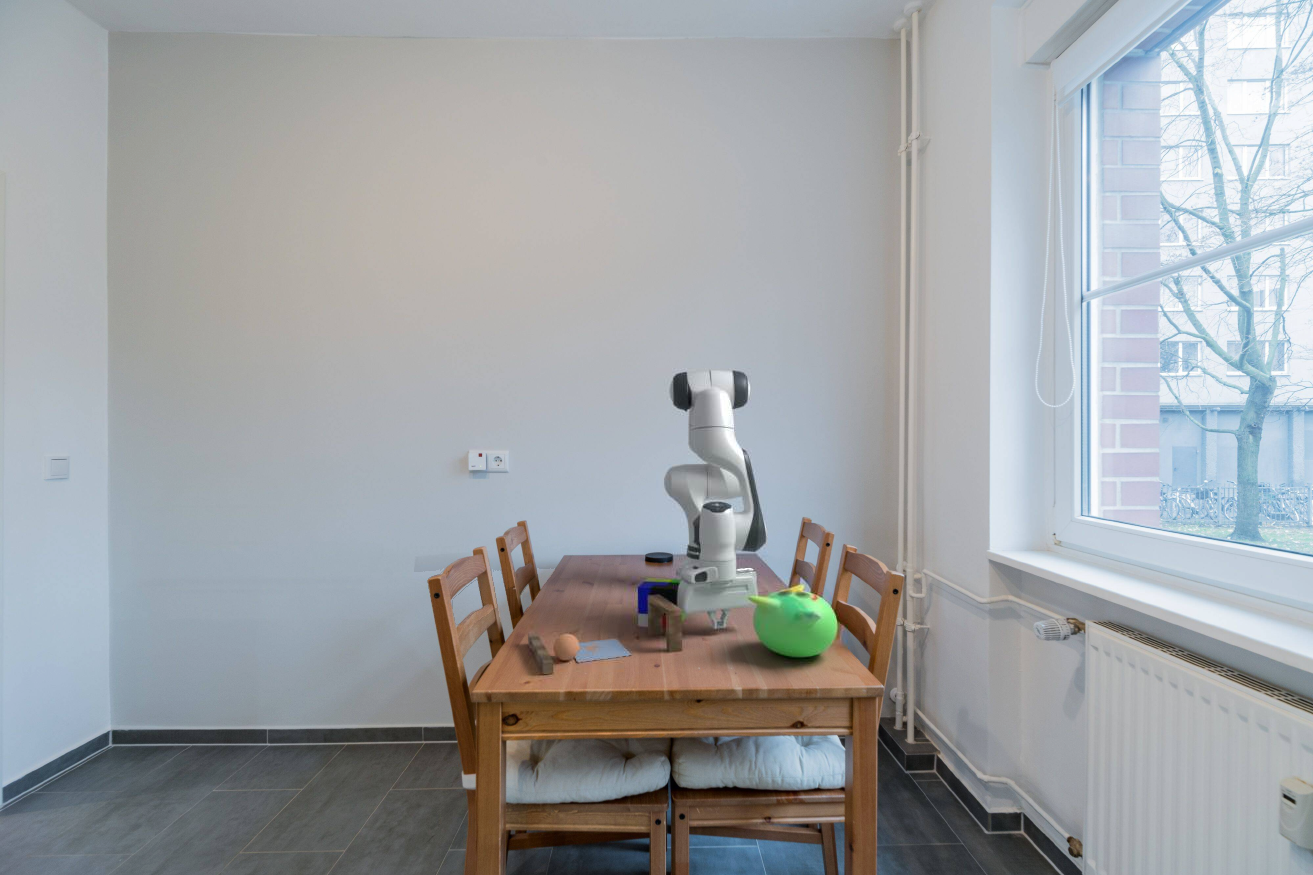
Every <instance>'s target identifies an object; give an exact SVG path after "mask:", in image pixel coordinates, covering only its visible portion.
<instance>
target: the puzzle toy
mask: <svg viewBox="0 0 1313 875" xmlns="http://www.w3.org/2000/svg"><path fill="white" fill-rule="evenodd" d="M681 581H682V580H675V578H674V579H671V578H668V579H667V578H646V579H645V580H644V581H643V582H642V583H640V585H638V586H637V627H639V626H641V627H642V628H643V627H644V628H648V596H649V595H661V596H662V597H664V598H665V599H667V600H668V601H670V602H671V603H673V604H674V605H676V606H677V595H678V587H679V584H680V582H681ZM685 616H686V614H684V613H682V622H683V621H684V619H685ZM662 626H663V629H666V614H665V613H664V612H663V611H662Z"/></svg>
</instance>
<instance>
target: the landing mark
mask: <svg viewBox="0 0 1313 875" xmlns="http://www.w3.org/2000/svg"><path fill="white" fill-rule="evenodd" d="M583 646H587V647H588V646H597V647H598V646H600V647H598V648H599V649H598V648H597V649H596V650H595V649H592V648H590V649H592V650H590V649H589V650H588V648H587V649H586V648H584V647H583ZM579 647H580V648H579V652H578V653H577V655H576V656H575V658H574V660H575V659H576V660H575V661H576V662H578V663H577V664H581V663H580V662H583V663H587V662H586V661H590V662H594V661H593V660H597V661H602V660H601V659H604V660H609V659H608V658H611V659H616V657H619V658H624V657H623V656H626V657H630V656H629V655H632V654H631V652H630V651H629V650H628V649H627V648H626V647H625V646H624V645H623V644H622V643H621V642H620V641H619V640H618V639H617V638H610V639H609V638H608V639H602V640H595V641H594V640H593V641H586V642H579ZM582 647H583V648H582ZM601 647H602V648H601ZM581 648H582V649H581ZM593 650H595V651H593ZM587 651H588V652H587ZM590 651H591V652H590ZM589 652H590V653H589ZM592 652H593V653H592ZM586 653H587V654H586ZM592 654H593V655H592ZM589 655H590V656H589Z"/></svg>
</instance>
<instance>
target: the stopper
mask: <svg viewBox="0 0 1313 875" xmlns="http://www.w3.org/2000/svg"><path fill="white" fill-rule="evenodd" d="M527 635H528V636H527V638H528V639H527V640H528V643H529V645H530V647H531V649H532V651H533V653H534V655H533V657H534V656H535V657H534V659H535V658H536V659H535V661H536V660H537V661H536V663H537V662H538V663H537V665H538V664H539V665H538V667H539V666H540V667H539V669H540V668H541V669H540V671H541V670H542V671H541V673H542V672H543V673H542V675H543V674H549V675H551V674H550V673H553V674H554V660H553V659H552V657H551V655H550V653H549V652H548V650H547V648H546V646H545V645H544V643H543V641H542V640H541V638H540V636H539V635H538V633H537V632H535V633H534V632H533V633H527ZM528 643H527V644H528ZM529 645H528V646H529ZM530 647H529V648H530ZM531 649H530V650H531ZM532 651H531V652H532ZM533 653H532V654H533Z"/></svg>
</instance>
